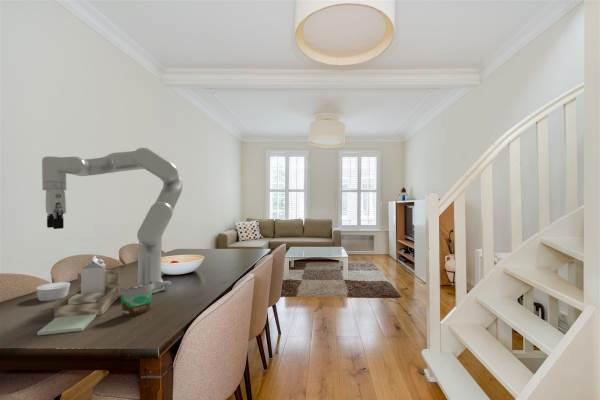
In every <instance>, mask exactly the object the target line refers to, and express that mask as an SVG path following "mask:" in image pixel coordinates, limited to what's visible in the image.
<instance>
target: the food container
mask: <svg viewBox="0 0 600 400" xmlns="http://www.w3.org/2000/svg"><path fill="white" fill-rule="evenodd" d="M153 289H154V284H153V282H152V281H150V283H149V284H146V285H138V284H137V285H135V286H132V287H129V288H122V287H121V288H120V289H119V290H118V295H120V298H121V301H120V302H121V309H122V316H132V317H133V316H139V315H143V314H145V313H147V312H149V311H150V310H151V302H152V294H153V293H152V290H153Z"/></svg>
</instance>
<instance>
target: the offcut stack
mask: <svg viewBox="0 0 600 400" xmlns="http://www.w3.org/2000/svg"><path fill="white" fill-rule="evenodd" d="M102 297H103V293H87V294H76V295H74V296H73V297H71V298H69V299H68V304H67V305H66V306H68V305H80V304H92V303H98V301H99V300H100V299H101V298H102Z"/></svg>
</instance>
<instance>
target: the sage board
mask: <svg viewBox="0 0 600 400" xmlns="http://www.w3.org/2000/svg"><path fill="white" fill-rule="evenodd" d="M96 317H97V315H96V314H89V315H78V316H67V317H57V318H55V319H54V318H53V319H52V320H51V321H50V322H49V323H48V324H46V325H45V326H43V327H42V328H41V329H39V330H38V331H37V336H44V335H55V334H63V333H72V332H81V331H82V332H83V330H85V328H86V327H87V326H88V325H90V323H92V322H93V320H94V319H96Z"/></svg>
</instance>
